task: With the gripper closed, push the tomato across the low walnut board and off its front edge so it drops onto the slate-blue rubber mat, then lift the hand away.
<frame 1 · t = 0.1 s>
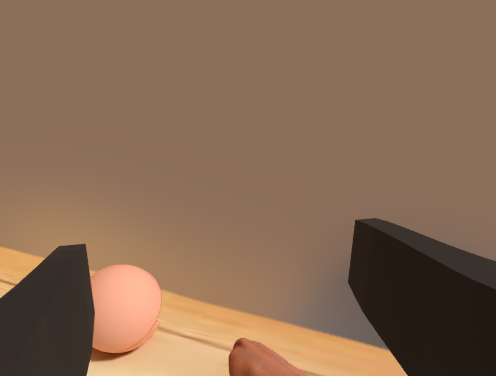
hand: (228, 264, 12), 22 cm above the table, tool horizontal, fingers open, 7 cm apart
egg: (123, 345, 42), on the table
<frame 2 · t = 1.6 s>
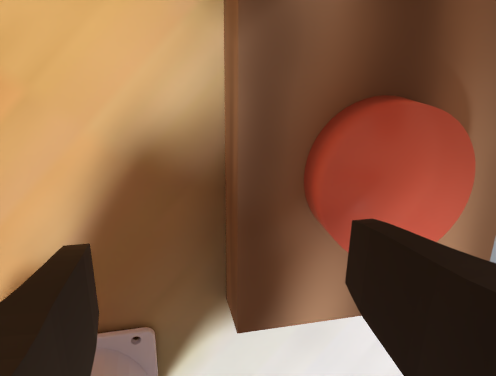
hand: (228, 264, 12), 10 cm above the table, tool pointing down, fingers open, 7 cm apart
tomato: (375, 171, 20), point 3 cm above the table, touching board
board: (356, 153, 23), on the table
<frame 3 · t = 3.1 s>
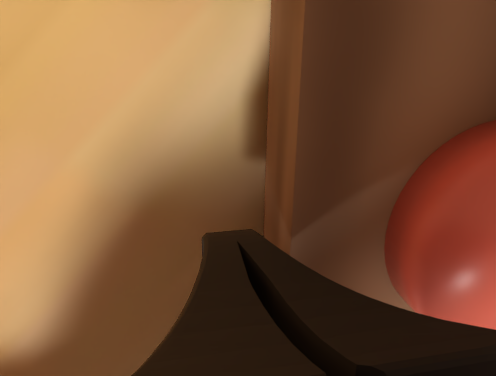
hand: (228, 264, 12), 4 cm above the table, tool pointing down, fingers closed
tomato: (484, 225, 14), point 3 cm above the table, touching board
board: (441, 190, 17), on the table
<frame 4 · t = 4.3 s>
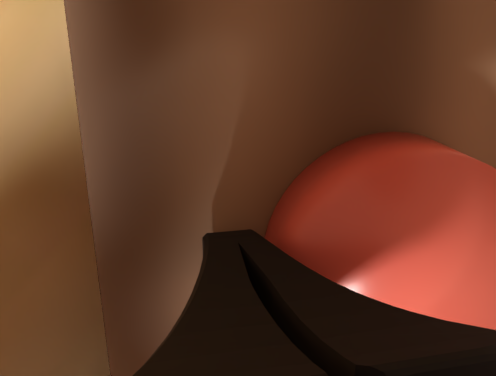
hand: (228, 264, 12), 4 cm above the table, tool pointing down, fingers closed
tomato: (373, 244, 13), point 3 cm above the table, touching gripper
board: (308, 201, 16), on the table
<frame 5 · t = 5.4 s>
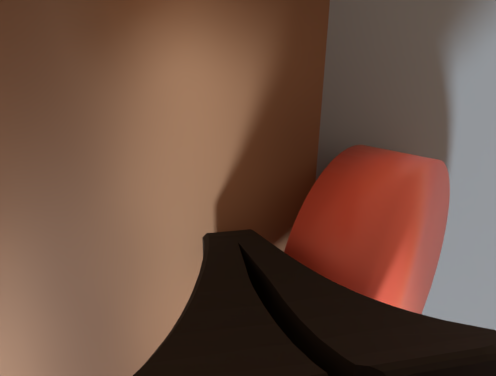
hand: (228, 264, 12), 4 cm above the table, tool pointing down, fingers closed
tomato: (338, 255, 14), point 3 cm above the table, tilted 39°, touching gripper
mat: (454, 189, 17), on the table
board: (72, 218, 14), on the table
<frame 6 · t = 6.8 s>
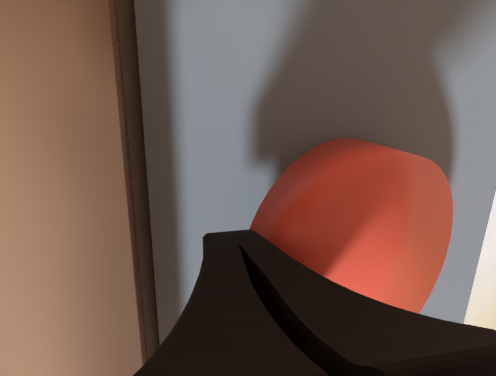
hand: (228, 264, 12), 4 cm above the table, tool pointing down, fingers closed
tomato: (327, 242, 15), point 2 cm above the table, tilted 23°, touching gripper, mat
mat: (333, 198, 16), on the table
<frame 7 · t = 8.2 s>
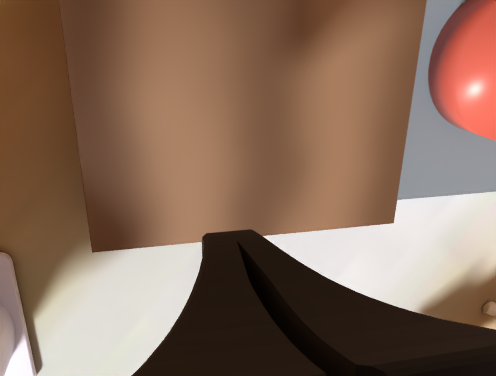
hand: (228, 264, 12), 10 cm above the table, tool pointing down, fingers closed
tomato: (490, 62, 22), resting on mat
board: (241, 47, 20), on the table
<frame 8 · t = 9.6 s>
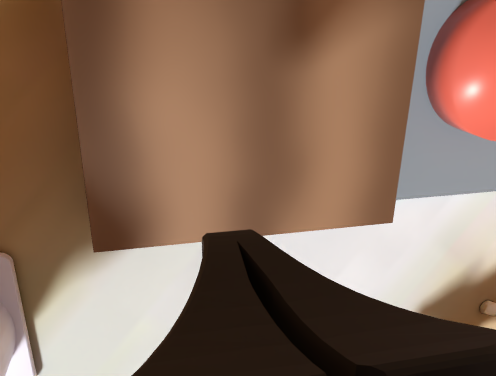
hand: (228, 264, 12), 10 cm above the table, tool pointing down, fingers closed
tomato: (486, 64, 23), resting on mat
board: (241, 48, 20), on the table
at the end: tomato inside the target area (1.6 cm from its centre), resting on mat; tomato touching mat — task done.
